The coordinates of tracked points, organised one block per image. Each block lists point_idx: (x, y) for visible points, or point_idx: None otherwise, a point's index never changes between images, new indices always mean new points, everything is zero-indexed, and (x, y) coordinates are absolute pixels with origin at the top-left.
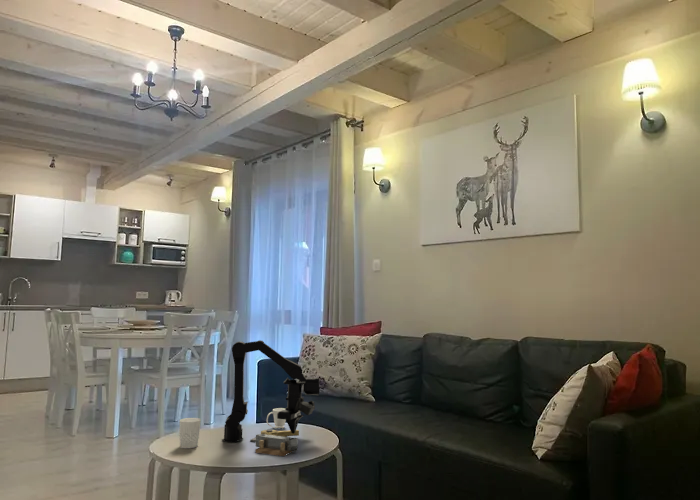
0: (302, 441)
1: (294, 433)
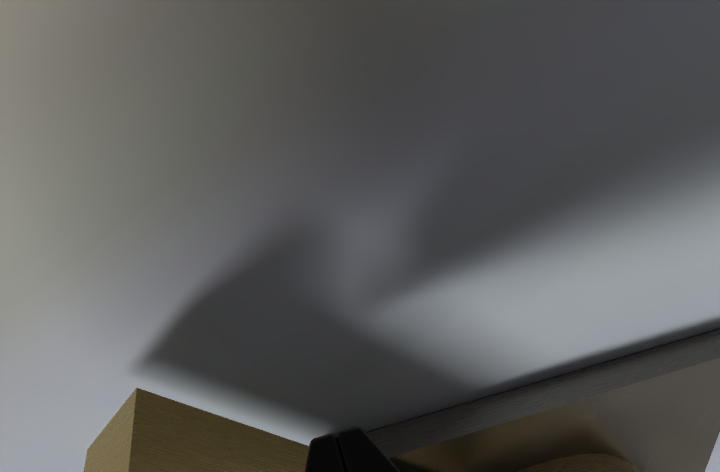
0: (330, 103)
1: (239, 466)
